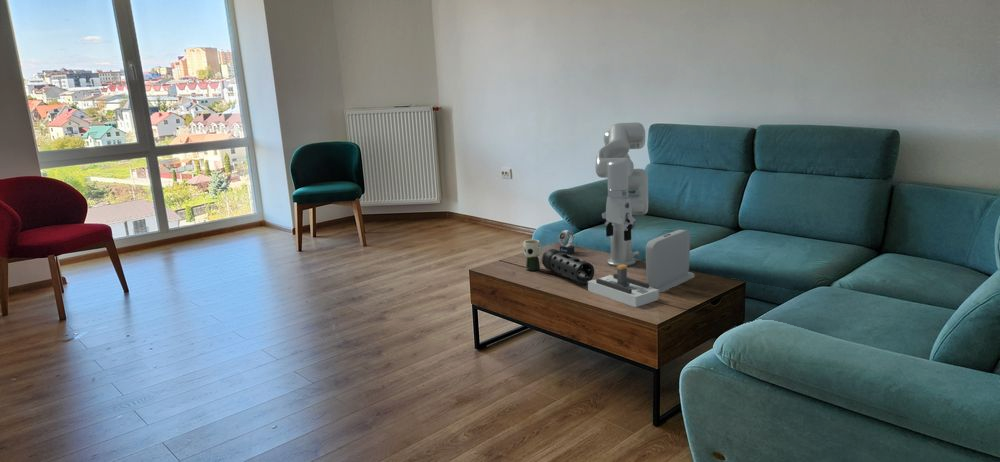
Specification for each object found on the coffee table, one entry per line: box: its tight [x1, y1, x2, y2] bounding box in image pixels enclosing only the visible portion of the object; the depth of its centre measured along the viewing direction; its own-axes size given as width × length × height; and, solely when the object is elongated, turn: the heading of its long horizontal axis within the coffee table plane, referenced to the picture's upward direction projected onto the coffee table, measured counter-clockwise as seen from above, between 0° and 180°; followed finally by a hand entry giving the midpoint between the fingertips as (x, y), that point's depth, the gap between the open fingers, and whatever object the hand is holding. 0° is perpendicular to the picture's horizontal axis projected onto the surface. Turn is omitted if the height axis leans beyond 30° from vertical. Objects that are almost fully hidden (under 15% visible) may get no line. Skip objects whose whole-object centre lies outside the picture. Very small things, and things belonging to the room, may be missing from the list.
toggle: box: [615, 264, 630, 287], centre depth 254 cm, size 4×4×8 cm
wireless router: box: [645, 229, 696, 294], centre depth 267 cm, size 31×10×20 cm, turn 134°
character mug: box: [522, 239, 542, 271], centre depth 295 cm, size 11×7×13 cm, turn 42°
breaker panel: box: [587, 274, 659, 308], centre depth 256 cm, size 12×26×4 cm, turn 34°
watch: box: [557, 229, 575, 255], centre depth 320 cm, size 6×8×11 cm
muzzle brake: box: [541, 248, 595, 286], centre depth 281 cm, size 10×28×10 cm, turn 27°
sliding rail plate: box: [595, 273, 649, 294], centre depth 255 cm, size 10×18×2 cm, turn 34°
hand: (618, 238), depth 252 cm, fingers open, 9 cm apart
